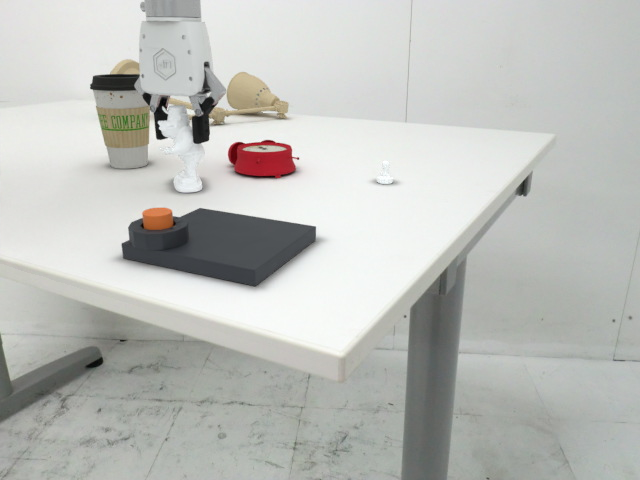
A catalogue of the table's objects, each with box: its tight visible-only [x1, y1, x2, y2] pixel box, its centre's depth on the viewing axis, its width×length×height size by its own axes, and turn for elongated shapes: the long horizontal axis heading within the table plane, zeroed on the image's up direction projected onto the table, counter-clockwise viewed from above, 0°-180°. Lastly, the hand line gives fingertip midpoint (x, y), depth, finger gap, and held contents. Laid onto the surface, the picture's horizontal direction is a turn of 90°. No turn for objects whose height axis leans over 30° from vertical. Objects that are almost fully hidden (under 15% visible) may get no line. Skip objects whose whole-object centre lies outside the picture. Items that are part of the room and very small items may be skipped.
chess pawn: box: [376, 160, 394, 185], centre depth 90 cm, size 3×3×4 cm
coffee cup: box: [89, 73, 151, 170], centre depth 97 cm, size 10×10×15 cm
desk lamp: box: [109, 58, 290, 125], centre depth 150 cm, size 15×35×40 cm
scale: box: [121, 207, 317, 287], centre depth 62 cm, size 16×14×4 cm
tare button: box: [141, 207, 174, 230], centre depth 59 cm, size 3×3×2 cm
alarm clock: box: [227, 139, 300, 179], centre depth 98 cm, size 10×6×15 cm
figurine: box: [158, 104, 205, 194], centre depth 85 cm, size 9×7×12 cm
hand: (182, 139), depth 85 cm, fingers closed on figurine, 6 cm apart
